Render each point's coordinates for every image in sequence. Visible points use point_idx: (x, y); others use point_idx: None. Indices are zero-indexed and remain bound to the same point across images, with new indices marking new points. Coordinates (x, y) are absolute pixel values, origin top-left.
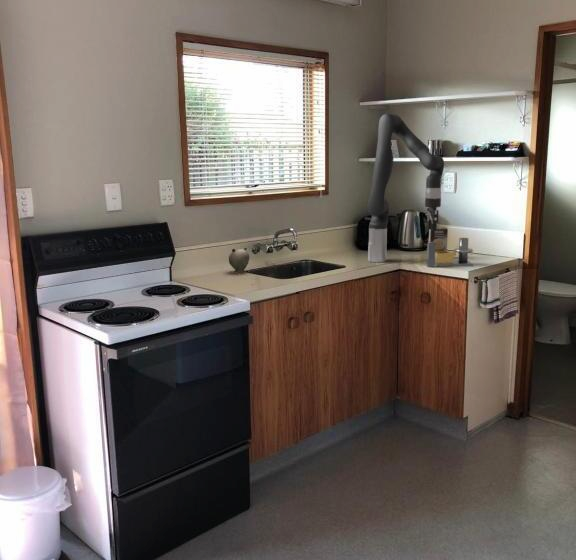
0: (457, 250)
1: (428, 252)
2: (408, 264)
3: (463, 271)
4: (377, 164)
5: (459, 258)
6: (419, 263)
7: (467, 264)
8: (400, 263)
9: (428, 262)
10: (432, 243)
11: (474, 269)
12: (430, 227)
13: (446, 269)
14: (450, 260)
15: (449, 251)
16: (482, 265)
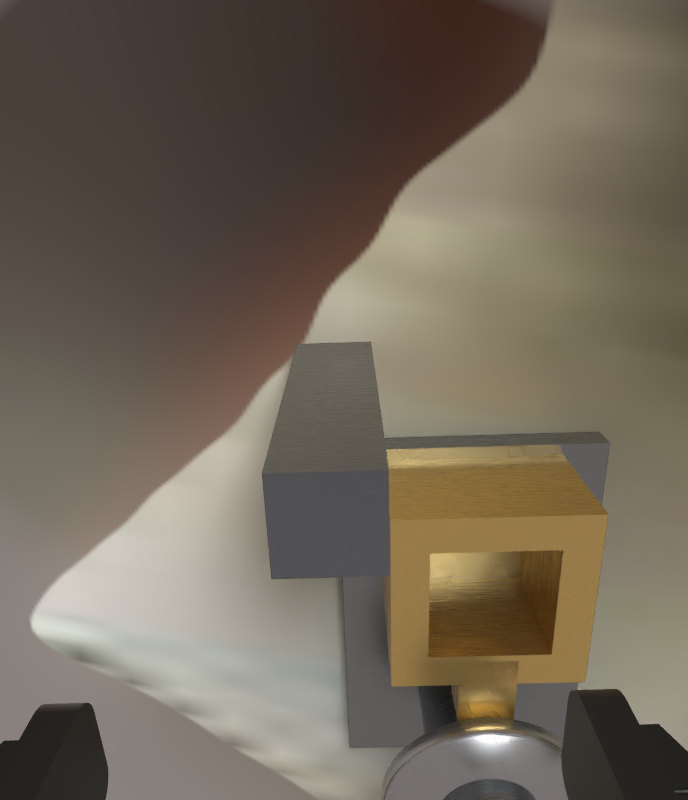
0: (428, 752)
1: (293, 405)
2: (507, 131)
3: (75, 613)
4: None
5: (451, 695)
6: (559, 286)
7: (348, 703)
8: (603, 22)
9: (294, 362)
10: (268, 529)
11: (184, 706)
12: (584, 781)
13: (168, 498)
14: (386, 603)
15: (541, 674)
16: (377, 791)
